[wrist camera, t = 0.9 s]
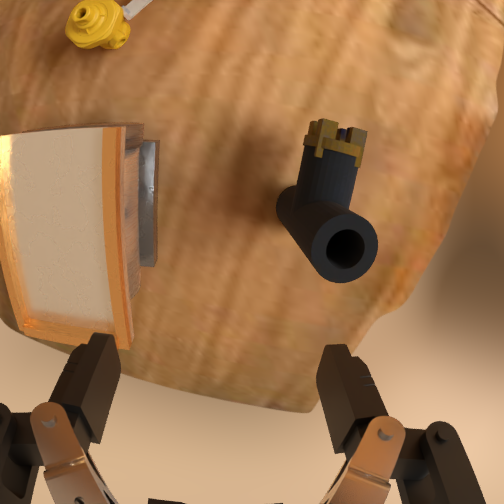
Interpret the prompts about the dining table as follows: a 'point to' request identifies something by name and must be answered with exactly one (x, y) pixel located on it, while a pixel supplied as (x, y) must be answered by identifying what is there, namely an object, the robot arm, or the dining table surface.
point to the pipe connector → (329, 204)
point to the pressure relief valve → (101, 23)
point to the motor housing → (77, 227)
